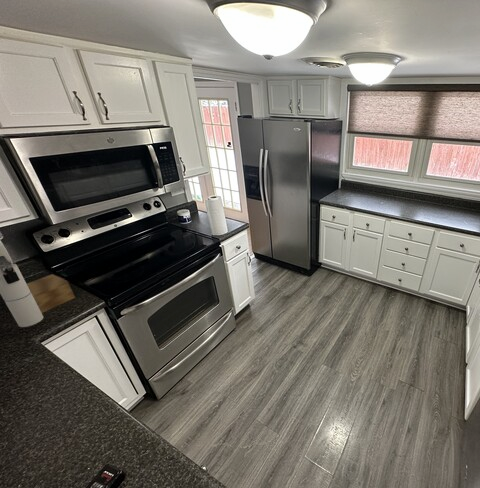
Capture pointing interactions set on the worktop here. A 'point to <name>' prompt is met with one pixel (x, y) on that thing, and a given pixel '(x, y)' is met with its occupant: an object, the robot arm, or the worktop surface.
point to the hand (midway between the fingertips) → (8, 279)
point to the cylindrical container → (20, 300)
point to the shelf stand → (50, 292)
